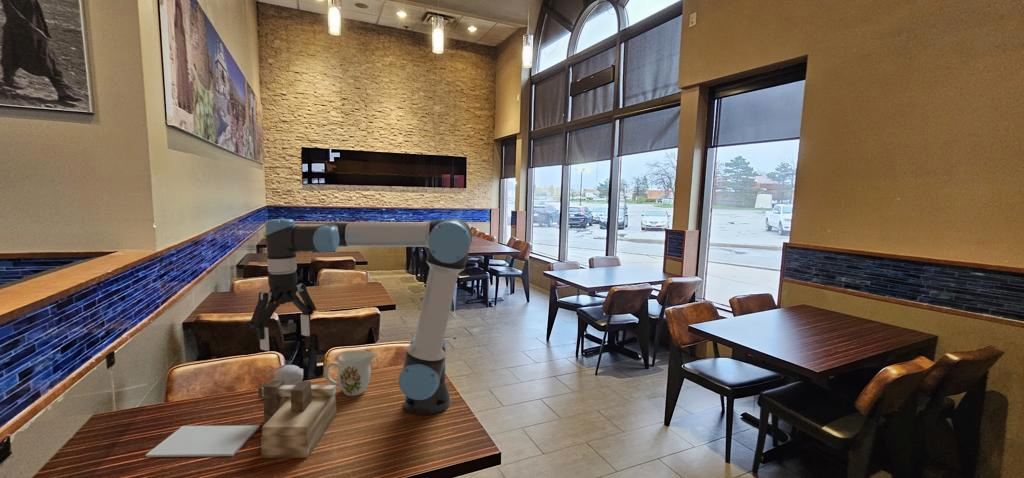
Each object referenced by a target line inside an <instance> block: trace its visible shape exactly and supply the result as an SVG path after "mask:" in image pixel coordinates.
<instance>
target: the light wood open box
mask: <svg viewBox="0 0 1024 478" xmlns="http://www.w3.org/2000/svg"><path fill="white" fill-rule="evenodd" d="M266 383H267V384H266V385H265V386H264V387H263V391H264V397H263V400H262V402H263V426H264V425H265V424H266V422H267V421H268V420H269V419H270V418H271V417H272V416H273V415H274V414H275V413H276V412H277V411H278V410H279V409H280V408H281V407H282V406H283V404H284V403H285V402H286V397H279V392H278V388H279V387H280V386H281V385H284V380H274V379H270V380H269V381H268V382H266ZM336 416H337V397H336V396H335V398H334V400H333V401H332V402H331V404H330V405H329V406H328V408H327V409H326V411H325V412H324V413H323V415H322V416H321V418H320V419H319V420H318V422H317V423H316V424H315V426H314V427H313V429H312V430H311V431H310V433H309V434H308V435H307V436H262V435H261V437H260V452H261V453H260V454H261V459H283V458H284V459H285V458H286V459H289V458H290V459H292V458H293V459H294V458H295V459H296V458H298V459H299V458H305V459H306V458H309V457H310V455H311V454H312V452H313V450H314V449H315V448H316V447H317V444H318V443H319V441H320V440H321V439H322V437H323V436H324V434H325V433H326V431H327V430H328V428H329V427H330V425H331V424H332V422H333V421H334V419H335V417H336Z"/></svg>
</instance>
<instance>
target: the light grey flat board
mask: <svg viewBox="0 0 1024 478" xmlns="http://www.w3.org/2000/svg"><path fill="white" fill-rule="evenodd" d="M260 427H261V425H182V426H181V427H180V428H178V429H177V430H176V431H174V432H173V433H172V434H170V435H169V436H167V437H166V439H164V440H162V442H160V443H159V444H158V445H156V446H155V447H154V448H152V449H151V450H150V451H149V452H147V453H145V458H159V457H160V458H162V457H164V458H165V457H167V458H168V457H169V458H172V457H173V458H175V457H177V458H178V457H179V458H180V457H182V458H184V457H186V458H187V457H233V456H234V455H235V454H236V453H237V452H238V451H239V450H240V449H241V448H242V447H243V446H244V445H245V444H246V442H247V441H248V440H249V439H250V438H252V436H253V435H254V434H255V433H256V432H257V431H258V430H259V429H260Z"/></svg>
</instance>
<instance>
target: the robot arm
mask: <svg viewBox="0 0 1024 478" xmlns="http://www.w3.org/2000/svg"><path fill="white" fill-rule="evenodd" d="M264 236H265V242H266V244H265V245H266V259H267V272H269V273H268V274H267V280H268V287H269V291H267V292H264V291H260V292H259V293H258V301H257V303H256V306H255V309H254V311H253V314H252V316H251V319H250V322H249V325H248V327H249V328H253V329H256V337H257V340H259V347H260V350H262V351H266V352H267V351H270V339H269V327H266V326H267V325H268V323H269V322H270V320H271V318H272V316H273V315H274V313H275V312H276V310H277V308H279V307H280V305H285V304H287V303H288V304H289V303H293V305H294V306H295V307H296V308H297V309H298V310H299V311H300V312H302V313H301V314H300V331H301V332H300V333H301V336H305V337H309V336H310V335H311V334H310V332H311V331H310V325H311V322H312V321H311V316H312V315H313V314H314V312H315V311H317V307H316V305H315V304H314V301H313V299H312V297H311V295H310V294H309V293H308V290H307V285H306V284H304V283H298V273H297V269H298V265H297V263H298V261H297V253H300V252H303V253H304V252H305V253H307V252H308V253H328V252H329V253H331V252H336V251H337V249H338V248H339V247H340V248H341V247H380V248H381V247H387V248H388V247H389V248H390V247H391V248H392V247H395V248H396V247H398V248H401V247H403V248H406V247H408V248H409V247H410V248H412V247H413V248H417V247H418V248H422V247H423V248H428V250H427V255H426V259H425V262H426V263H427V265H428V266H429V270H428V275H427V280H426V285H425V288H424V292H423V293H424V294H423V297H422V303H421V308H420V312H419V316H418V322H417V327H416V332H415V335H414V338H413V339H411V340H410V344H409V345H408V346H407V349H406V353H405V357H404V362H403V367H402V369H401V371H400V373H399V375H398V385H399V389H400V391H401V392H402V393H403V395H404V396H405V397H404V408H405V410H406V411H407V412H409V413H411V414H414V415H419V416H429V415H435V414H438V413H441V412H444V411H445V410H446V409H448V408H449V407H450V405H451V395H450V392H449V389H448V385H447V383H446V349H447V346H446V344H447V343H446V340H445V335H446V330H447V326H448V323H449V322H448V321H449V319H450V318H449V317H450V314H451V309H452V304H453V299H454V294H455V291H456V287H457V281H458V276H459V274H460V273H461V272H462V271H463V272H464V270H465V268H466V265H467V261H468V260H467V259H468V256H469V252H470V247H471V244H472V242H473V233H472V229H471V227H470V226H469V225H468V223H466V221H464V220H462V219H459V218H455V217H453V218H448V219H440V220H438V219H437V220H432V219H431V220H429V221H428V222H426V223H412V222H411V223H405V222H404V223H401V222H400V223H397V222H395V223H387V222H386V223H380V222H378V223H376V222H374V223H371V222H363V223H362V222H357V223H356V222H352V223H350V222H348V223H344V222H337V221H335V222H329V223H326V224H318V225H312V226H311V225H308V226H307V225H305V226H301V225H300V226H299V225H296V223H295V220H294V219H292V218H275V219H274V218H273V219H272V218H271V219H269V220H267V221H266V222H265V235H264ZM297 292H298V294H299V296H300V297H299V296H298V295H297ZM300 298H301V299H300Z"/></svg>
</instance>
